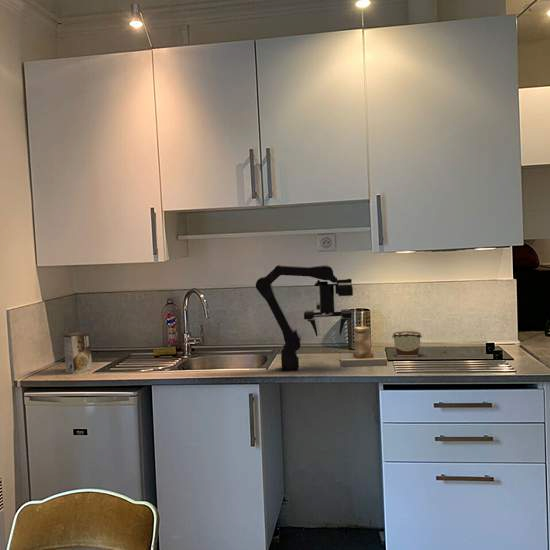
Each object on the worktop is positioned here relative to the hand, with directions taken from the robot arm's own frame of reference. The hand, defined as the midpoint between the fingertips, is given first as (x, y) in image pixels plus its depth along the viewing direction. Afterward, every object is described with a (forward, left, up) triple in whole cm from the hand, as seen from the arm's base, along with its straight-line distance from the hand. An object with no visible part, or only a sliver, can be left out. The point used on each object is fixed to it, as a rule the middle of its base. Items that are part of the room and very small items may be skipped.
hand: (328, 335), depth 243 cm
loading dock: (+14, +8, -13) cm, 21 cm away
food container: (+34, +20, -13) cm, 42 cm away
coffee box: (-106, +8, -13) cm, 107 cm away
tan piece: (+14, +8, -10) cm, 19 cm away
